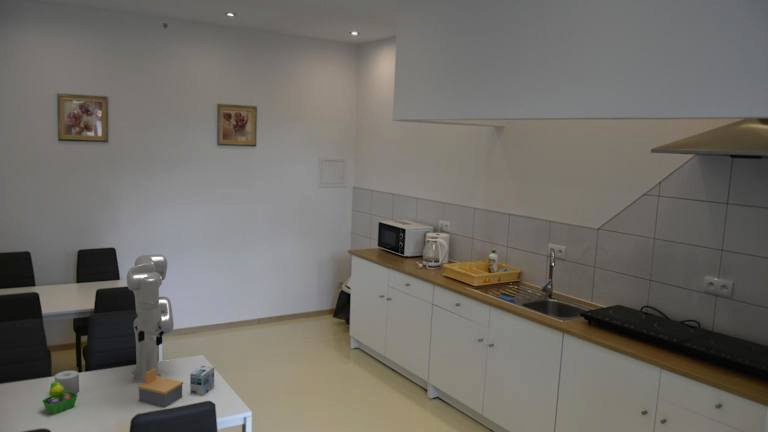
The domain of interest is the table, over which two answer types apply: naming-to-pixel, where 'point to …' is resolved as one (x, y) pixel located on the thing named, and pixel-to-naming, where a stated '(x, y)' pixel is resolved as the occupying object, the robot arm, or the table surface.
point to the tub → (160, 397)
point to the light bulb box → (202, 380)
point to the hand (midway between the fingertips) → (150, 342)
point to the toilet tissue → (68, 381)
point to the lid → (158, 383)
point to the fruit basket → (59, 399)
